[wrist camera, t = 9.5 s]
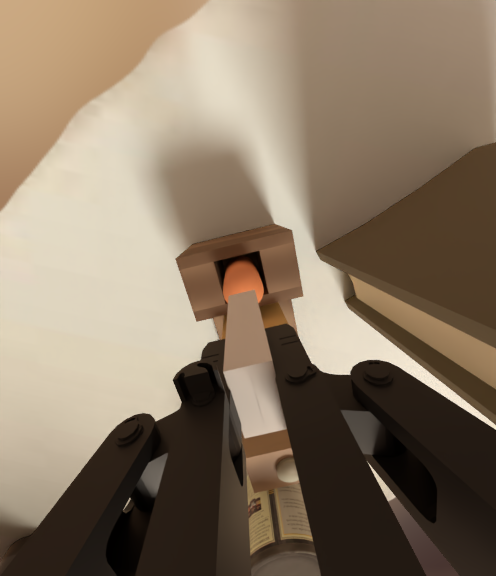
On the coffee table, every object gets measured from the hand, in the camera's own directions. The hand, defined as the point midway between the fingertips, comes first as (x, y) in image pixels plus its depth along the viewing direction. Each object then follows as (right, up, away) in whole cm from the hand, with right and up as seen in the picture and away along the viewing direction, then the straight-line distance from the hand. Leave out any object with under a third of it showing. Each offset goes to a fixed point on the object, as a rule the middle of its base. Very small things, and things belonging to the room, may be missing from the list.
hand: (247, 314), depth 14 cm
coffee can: (+4, -27, +27) cm, 38 cm away
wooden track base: (+2, -6, +20) cm, 21 cm away
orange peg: (-1, +3, +10) cm, 10 cm away
